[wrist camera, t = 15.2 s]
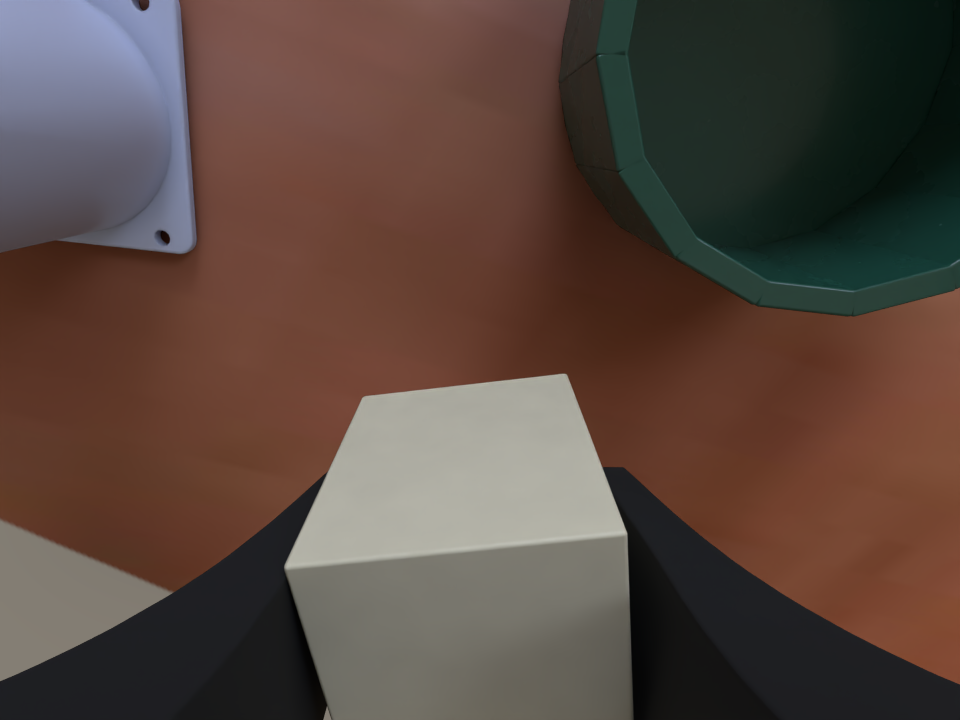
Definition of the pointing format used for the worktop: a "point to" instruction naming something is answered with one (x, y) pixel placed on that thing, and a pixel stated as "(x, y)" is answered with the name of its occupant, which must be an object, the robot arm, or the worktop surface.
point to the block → (467, 561)
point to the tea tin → (776, 141)
